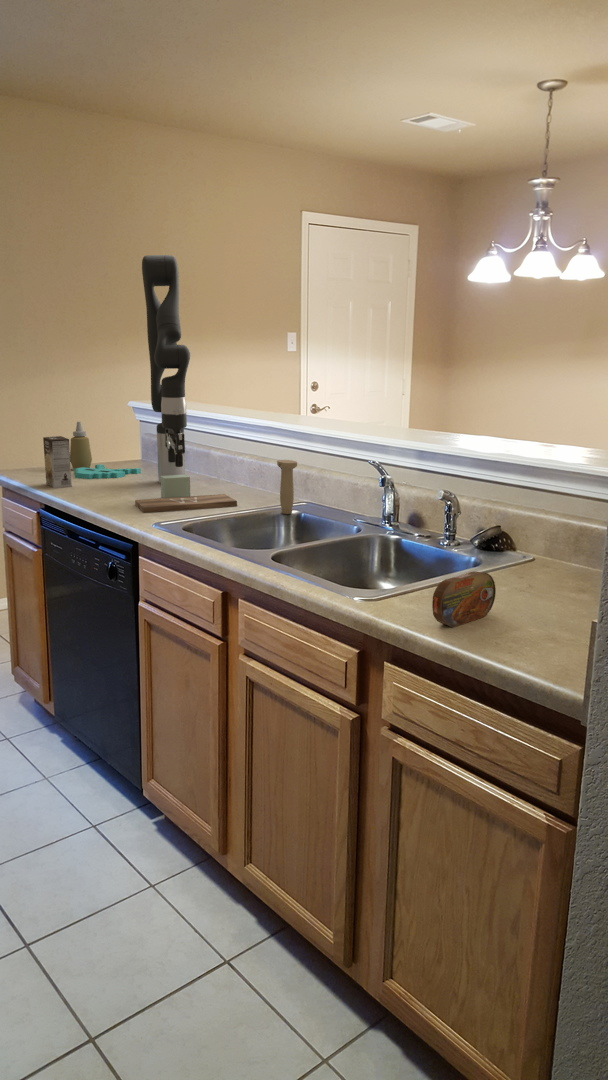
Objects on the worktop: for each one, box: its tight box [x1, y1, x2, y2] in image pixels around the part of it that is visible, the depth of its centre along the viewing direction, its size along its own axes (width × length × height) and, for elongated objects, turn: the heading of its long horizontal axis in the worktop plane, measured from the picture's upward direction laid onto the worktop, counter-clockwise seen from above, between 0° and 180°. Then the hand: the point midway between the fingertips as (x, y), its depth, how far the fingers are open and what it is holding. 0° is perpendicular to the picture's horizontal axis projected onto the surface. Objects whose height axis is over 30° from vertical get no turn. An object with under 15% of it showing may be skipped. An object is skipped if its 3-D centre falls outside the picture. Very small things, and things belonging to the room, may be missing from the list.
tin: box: [431, 571, 497, 628], centre depth 143 cm, size 15×3×8 cm, turn 130°
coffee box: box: [42, 435, 72, 489], centre depth 270 cm, size 9×6×16 cm
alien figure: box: [73, 463, 142, 480], centre depth 294 cm, size 20×2×20 cm
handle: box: [276, 459, 298, 515], centre depth 229 cm, size 5×6×15 cm
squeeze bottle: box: [69, 421, 93, 470], centre depth 302 cm, size 8×8×18 cm
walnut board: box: [134, 493, 238, 513], centre depth 240 cm, size 12×28×2 cm, turn 113°
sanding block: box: [160, 474, 191, 498], centre depth 251 cm, size 5×8×7 cm, turn 113°
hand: (175, 464), depth 249 cm, fingers open, 8 cm apart
